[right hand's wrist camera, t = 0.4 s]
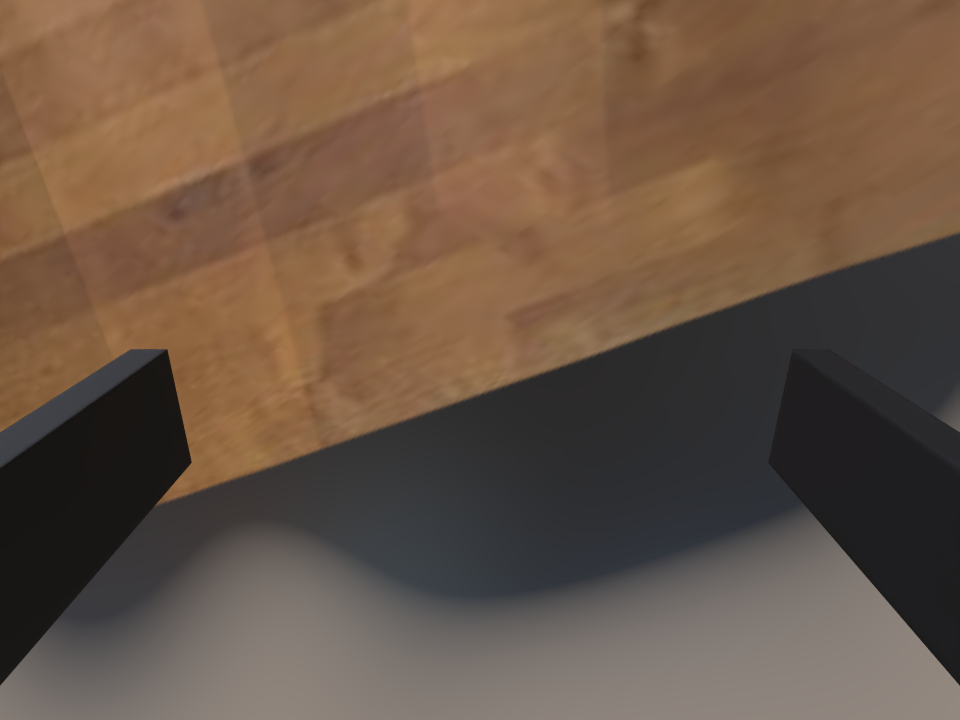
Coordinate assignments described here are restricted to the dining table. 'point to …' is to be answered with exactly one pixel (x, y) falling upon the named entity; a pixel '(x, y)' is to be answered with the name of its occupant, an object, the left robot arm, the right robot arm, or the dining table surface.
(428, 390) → the dining table surface
